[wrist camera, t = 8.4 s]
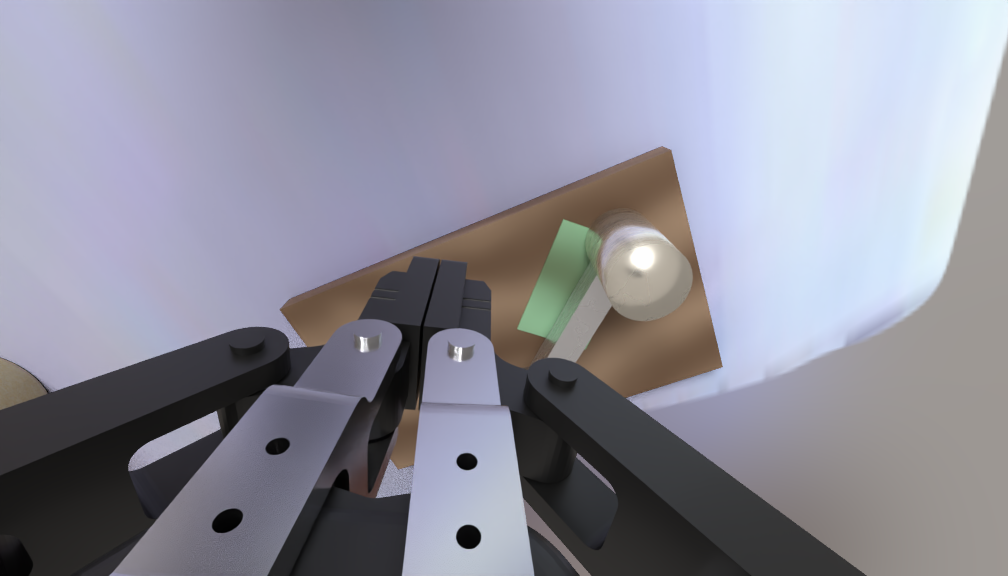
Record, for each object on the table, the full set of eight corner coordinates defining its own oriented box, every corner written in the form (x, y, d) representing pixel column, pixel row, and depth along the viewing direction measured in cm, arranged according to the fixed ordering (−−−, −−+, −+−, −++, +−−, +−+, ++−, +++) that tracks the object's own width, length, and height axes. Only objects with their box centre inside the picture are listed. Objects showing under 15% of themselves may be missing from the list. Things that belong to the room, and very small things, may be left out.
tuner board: (289, 298, 30) (278, 310, 28) (662, 146, 25) (672, 150, 24) (402, 454, 36) (398, 471, 35) (713, 354, 32) (723, 368, 30)
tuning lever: (606, 197, 25) (635, 230, 19) (665, 224, 25) (710, 264, 20) (495, 396, 31) (493, 464, 25) (545, 413, 32) (553, 483, 26)
